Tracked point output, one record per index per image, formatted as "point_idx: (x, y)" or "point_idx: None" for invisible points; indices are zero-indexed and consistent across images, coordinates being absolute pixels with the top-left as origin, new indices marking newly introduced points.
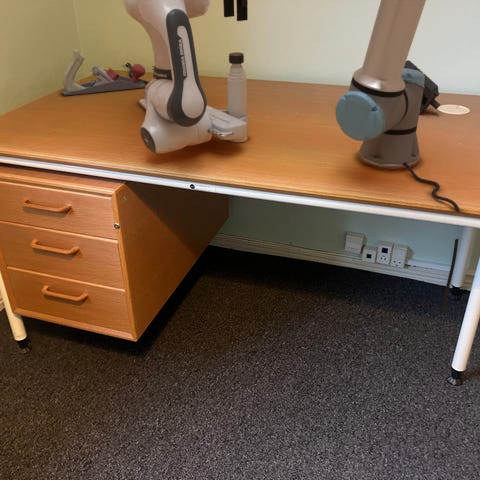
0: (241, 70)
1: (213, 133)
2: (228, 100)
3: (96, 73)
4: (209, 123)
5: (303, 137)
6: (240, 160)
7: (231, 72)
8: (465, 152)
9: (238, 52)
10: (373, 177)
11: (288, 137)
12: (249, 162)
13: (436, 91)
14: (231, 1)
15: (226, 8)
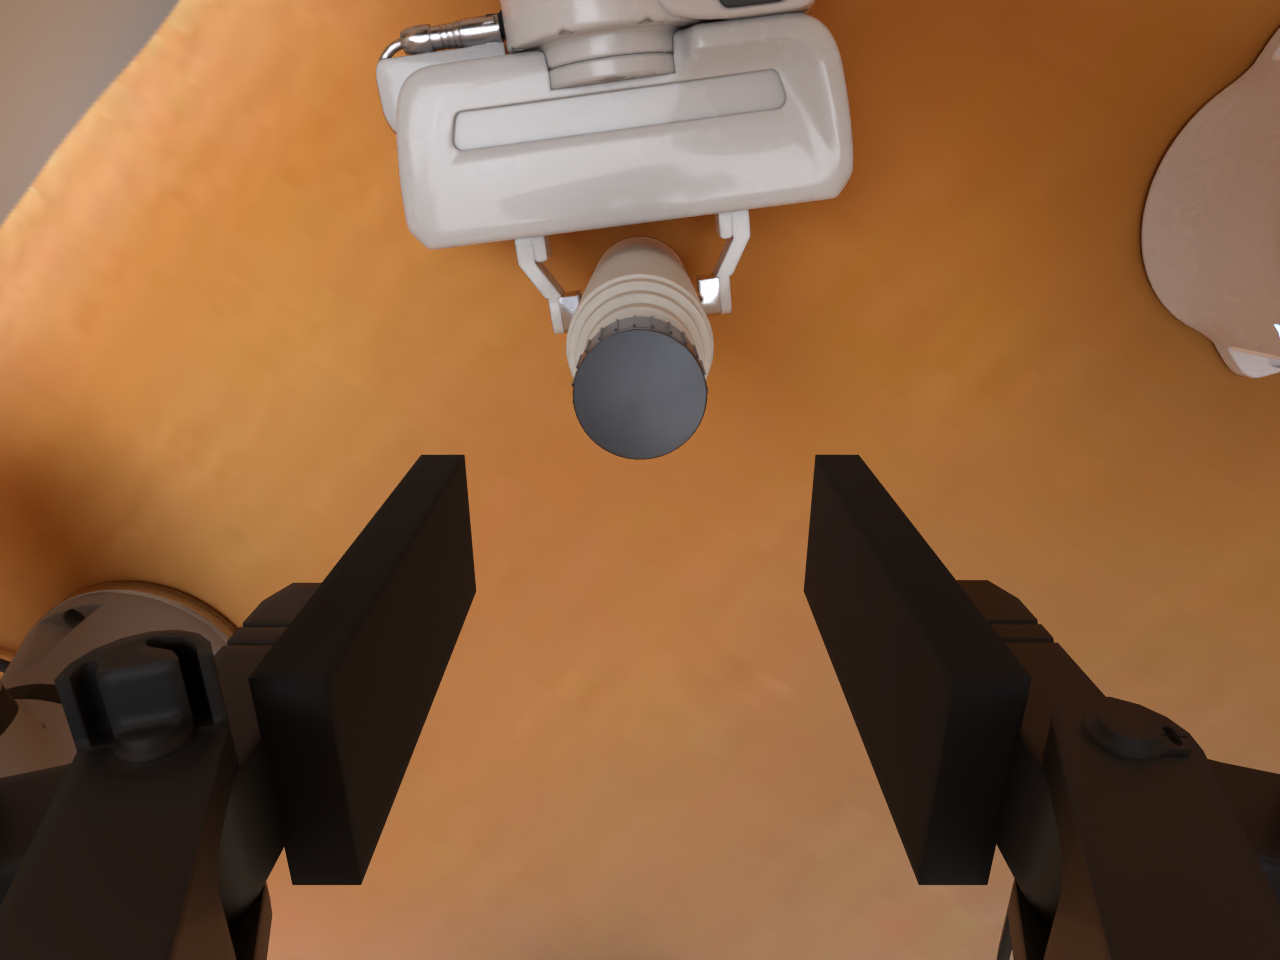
0: None
1: (446, 24)
2: (644, 257)
3: None
4: (508, 27)
5: (500, 549)
6: (384, 151)
7: (624, 305)
8: None
9: (680, 440)
10: (14, 534)
11: (533, 497)
12: (342, 179)
13: None
14: (856, 671)
15: (840, 527)
